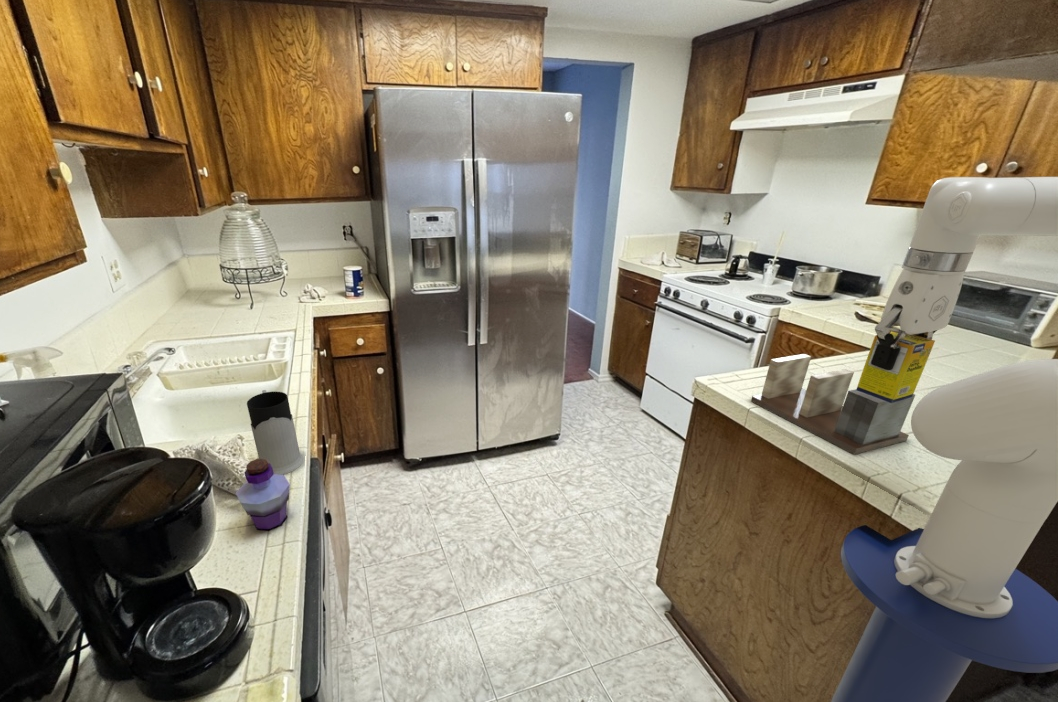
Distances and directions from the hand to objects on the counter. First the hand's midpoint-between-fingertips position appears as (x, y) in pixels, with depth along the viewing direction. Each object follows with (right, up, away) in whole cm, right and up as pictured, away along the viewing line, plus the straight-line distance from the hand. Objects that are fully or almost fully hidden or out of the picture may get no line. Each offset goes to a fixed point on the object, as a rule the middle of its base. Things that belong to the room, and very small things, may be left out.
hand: (895, 363), depth 82 cm
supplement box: (0, -6, +3) cm, 6 cm away
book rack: (+9, -13, +29) cm, 33 cm away
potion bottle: (-110, -28, 0) cm, 113 cm away
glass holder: (-116, -20, +18) cm, 119 cm away
